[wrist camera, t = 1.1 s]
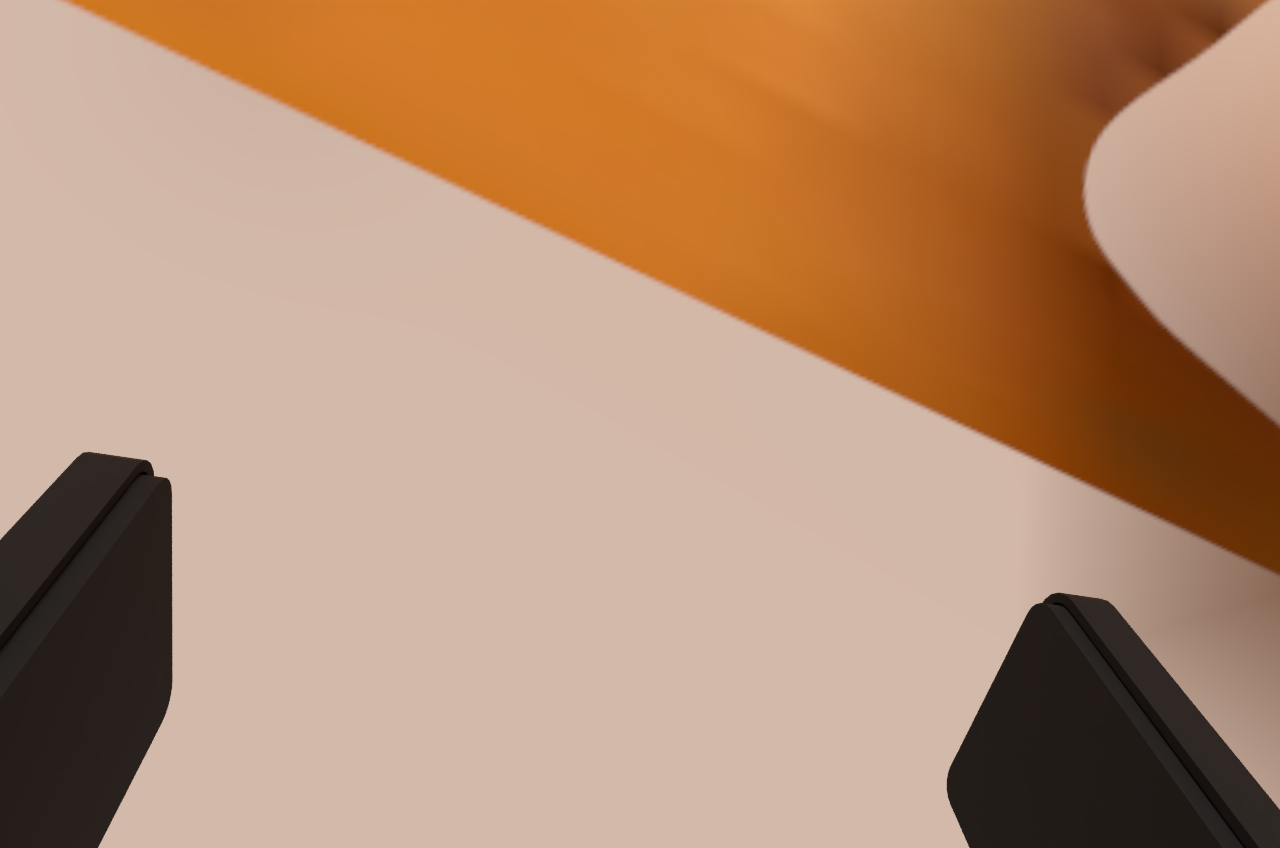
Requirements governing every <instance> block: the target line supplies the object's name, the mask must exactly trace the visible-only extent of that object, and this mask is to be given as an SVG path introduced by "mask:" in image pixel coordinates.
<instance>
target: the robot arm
mask: <svg viewBox="0 0 1280 848" xmlns="http://www.w3.org/2000/svg"><path fill="white" fill-rule="evenodd" d="M171 690H172V490H171V484H170V481H169V480H168V479H167V478H163V477H156V476H154V471H153V468H152V465H151V463H150V462H148V461H147V460H141V459H134V458H127V457H120V456H113V455H106V454H100V453H92V452H85V453H82V454H81V455H80V456H79V457H77V458H76V459H75V460H74V461H73V462H72V464H71V465H70V466H69V467H68V468H67V469H66V470H65V471H64V472H63V473H62V474H61V475H60V476H59V477H58V478H57V480H56V481H55V482H54V483H53V484H52V485H51V486H50V487H49V488H48V489H47V490H46V491H45V492H44V494H43V495H42V496H41V497H40V498H39V499H38V500H37V501H36V502H35V503H34V504H33V506H31V507H30V509H29V510H28V511H27V512H26V513H25V514H24V515H23V516H22V517H21V518H20V519H19V520H18V521H17V522H16V524H15V525H14V526H13V527H12V528H11V529H10V530H9V531H8V532H7V534H5V535H4V536H3V538H2V539H1V540H0V848H98V847H99V844H100V843H101V841H102V839H103V837H104V835H105V833H106V831H107V829H108V827H109V825H110V823H111V821H112V819H113V817H114V815H115V813H116V811H117V809H118V807H119V805H120V803H121V802H122V799H123V798H124V796H125V794H126V792H127V790H128V788H129V786H130V784H131V782H132V780H133V778H134V776H135V774H136V772H137V770H138V768H139V766H140V764H141V762H142V760H143V758H144V757H145V755H146V752H147V751H148V749H149V747H150V745H151V743H152V741H153V739H154V737H155V735H156V733H157V731H158V729H159V727H160V725H161V723H162V721H163V719H164V716H165V714H166V711H167V708H168V705H169V701H170V696H171ZM947 793H948V798H949V801H950V804H951V806H952V809H953V811H954V813H955V815H956V818H957V820H958V822H959V825H960V827H961V829H962V832H963V834H964V836H965V838H966V840H967V843H968V845H969V847H970V848H1280V810H1279V808H1278V807H1277V806H1276V805H1275V803H1274V802H1273V801H1272V800H1271V798H1270V797H1269V796H1268V795H1267V794H1266V792H1265V791H1264V790H1263V789H1262V787H1261V786H1260V785H1259V784H1258V782H1257V781H1256V780H1255V779H1254V778H1253V776H1252V775H1251V774H1250V773H1249V772H1248V770H1247V769H1246V768H1245V767H1244V765H1243V764H1242V763H1241V762H1240V760H1239V759H1238V758H1237V757H1236V756H1235V754H1234V753H1233V752H1232V751H1231V749H1229V747H1228V746H1227V744H1226V743H1225V742H1224V741H1223V739H1222V738H1221V737H1220V736H1219V735H1218V733H1217V732H1216V731H1215V730H1214V728H1213V727H1212V726H1211V725H1210V724H1209V722H1208V721H1207V720H1206V719H1205V717H1204V716H1203V715H1202V714H1201V712H1200V711H1199V710H1198V709H1197V708H1196V706H1195V705H1194V704H1193V703H1192V701H1191V700H1190V699H1189V698H1188V697H1187V695H1186V694H1185V693H1184V692H1183V690H1182V689H1181V688H1180V687H1179V685H1178V684H1177V683H1176V682H1175V681H1174V679H1173V678H1172V677H1171V676H1170V674H1169V673H1168V672H1167V671H1166V670H1165V668H1164V667H1163V666H1162V665H1161V663H1160V662H1159V661H1158V660H1157V658H1156V657H1155V656H1154V655H1153V654H1152V653H1151V651H1150V650H1149V649H1148V647H1147V646H1146V645H1145V644H1144V643H1143V641H1142V640H1141V639H1140V638H1139V636H1138V635H1137V634H1136V633H1135V632H1134V631H1133V629H1132V628H1131V627H1130V625H1128V623H1127V622H1126V620H1124V618H1123V617H1122V616H1121V614H1120V613H1119V612H1118V611H1117V610H1116V608H1115V607H1114V606H1113V605H1112V604H1110V603H1109V602H1108V601H1106V600H1102V599H1098V598H1091V597H1085V596H1078V595H1071V594H1064V593H1055V594H1051V595H1050V596H1049V597H1048V598H1046V599H1045V600H1044V601H1043V603H1039V604H1036V605H1034V606H1033V607H1032V608H1031V609H1030V611H1029V612H1028V614H1027V615H1026V617H1025V620H1024V621H1023V623H1022V625H1021V627H1020V629H1019V631H1018V633H1017V635H1016V637H1015V639H1014V641H1013V643H1012V645H1011V647H1010V649H1009V651H1008V654H1007V655H1006V657H1005V659H1004V661H1003V663H1002V665H1001V667H1000V669H999V671H998V673H997V675H996V677H995V679H994V681H993V683H992V685H991V687H990V689H989V691H988V693H987V695H986V697H985V699H984V701H983V703H982V705H981V707H980V709H979V711H978V713H977V715H976V717H975V719H974V721H973V723H972V725H971V727H970V729H969V731H968V733H967V735H966V737H965V739H964V741H963V743H962V745H961V747H960V749H959V751H958V753H957V755H956V757H955V759H954V761H953V763H952V765H951V766H950V769H949V772H948V777H947Z"/></svg>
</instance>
